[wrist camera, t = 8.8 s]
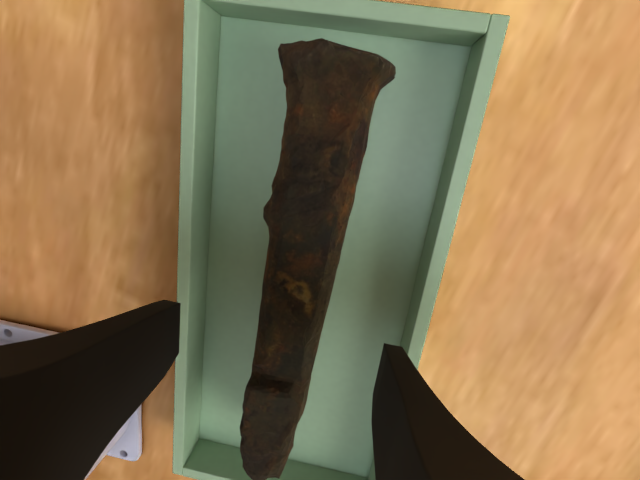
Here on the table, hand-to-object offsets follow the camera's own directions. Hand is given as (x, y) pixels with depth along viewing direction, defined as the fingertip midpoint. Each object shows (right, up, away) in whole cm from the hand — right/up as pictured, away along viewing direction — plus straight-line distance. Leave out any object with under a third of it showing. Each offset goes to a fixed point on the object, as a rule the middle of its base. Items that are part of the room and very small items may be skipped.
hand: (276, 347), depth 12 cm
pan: (+1, +2, +6) cm, 6 cm away
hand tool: (+1, +2, +5) cm, 6 cm away
